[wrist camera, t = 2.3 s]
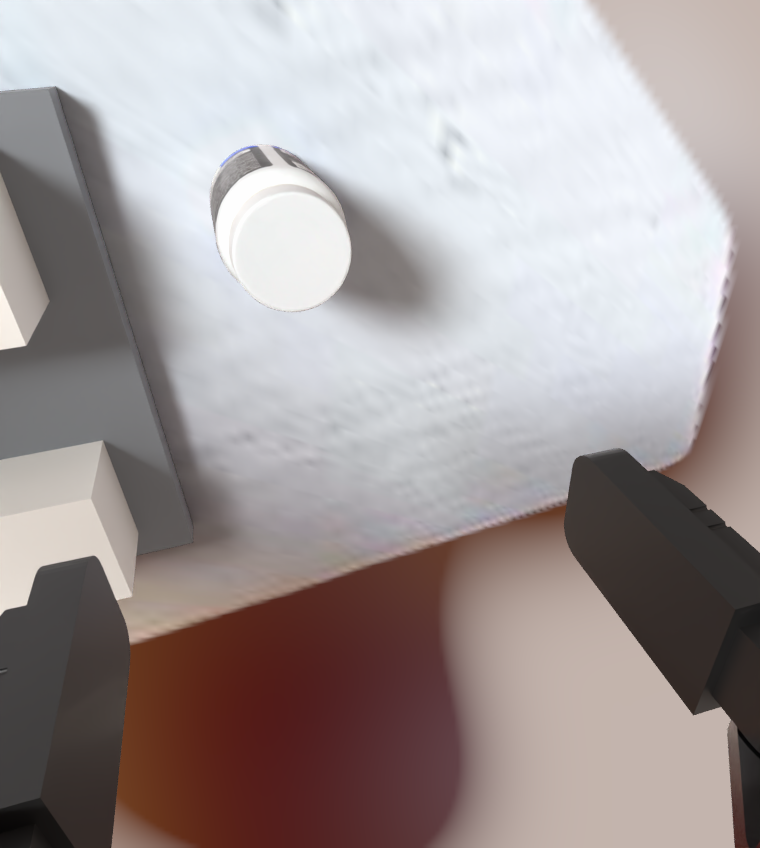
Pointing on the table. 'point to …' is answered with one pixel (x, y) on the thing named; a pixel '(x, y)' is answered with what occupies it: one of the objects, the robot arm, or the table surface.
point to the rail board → (70, 375)
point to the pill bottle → (279, 228)
